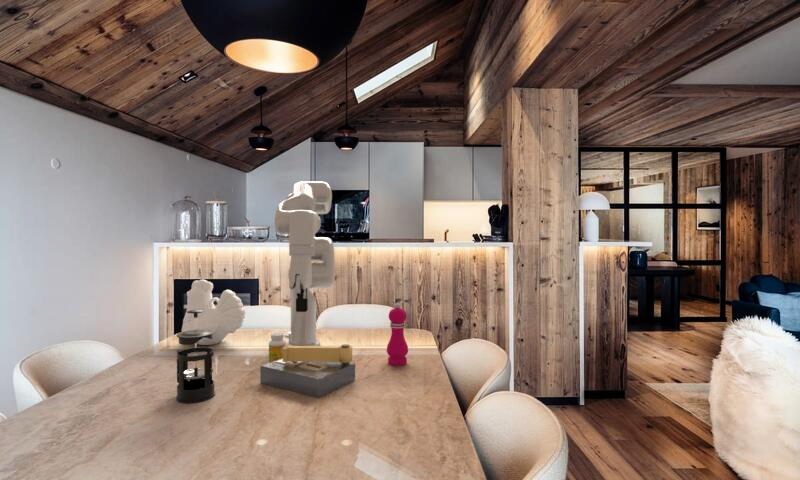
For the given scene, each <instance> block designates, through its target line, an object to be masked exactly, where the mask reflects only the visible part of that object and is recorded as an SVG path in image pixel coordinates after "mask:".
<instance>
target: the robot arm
mask: <svg viewBox="0 0 800 480" xmlns="http://www.w3.org/2000/svg"><path fill="white" fill-rule="evenodd" d="M332 200H333V192H332V188H331V185H330V184H329V183H328V182H326V181H309V180H307V181H306V180H305V181H304V180H303V181H302V180H301V181H299V182H296V183H295V184H294V185H293V187H292V189H291V193H290V194H288V195H287V197H286V199H285V200H283V201H281V202H280V203H279V204H278V206H277V207H276V210H275V214H274V228H275V231H276V232H277V233H278V234H281V235H288V242H289V243H288V250H289V251H288V255H289V256H290V263H289V268H288V271H287V272H288V274H287V275H288V287H289V290H290V291H289V292H290V293H289V294H290V331H288V332H287V333H286V334H284V338H285V339H288V341H287V342H286V345H290V346H321V341H320V340H319V339H317V300H316V297H315V294H314V293H313V292H312V291H311V290H310V289H321V288H331V287H333V285H334V284H335V281H336V268H335V267H336V266H335V265H336V264H335V263H336V262H335V247H334V246H335V245H334V242H333V240H332V239H331V238H330V237H325V236H318V237H317V236H316V235H315V234H316V233H318V232H319V230H320V229H321V226H322V225H321V224H322V223H321V220H322V219H321V217H320V215H327V214H328V213H329V212H330V211H331V208H332Z"/></svg>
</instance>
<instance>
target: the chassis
mask: <svg viewBox="0 0 800 480" xmlns="http://www.w3.org/2000/svg"><path fill="white" fill-rule="evenodd" d="M259 372H260V377H259V378H260V380H259V381H260V384H263V385H267V386H271V387H274V388H279V389H283V390H285V391H291V392H294V393H298V394H301V395H306V396H309V397H313V398H317V399H320V398H322V397H324V396H326V395H328V394H330V393H332V392H335V391H336V390H338V389H340V388H342V387H344V386H346V385H348V384H350V383H353V382H354V381H356V363H354V362H350V363H349V364H341V362H311V361H287V362H283V358H282V359H279V360H276V361H273V362H270V363H269V362H267V363H265V364H261V365H260V371H259Z"/></svg>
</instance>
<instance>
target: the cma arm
mask: <svg viewBox="0 0 800 480" xmlns="http://www.w3.org/2000/svg"><path fill="white" fill-rule="evenodd" d="M287 361H311V362H341V364H349V363H353V346H352V345H350V344H346V343H345V344H341V345H333V346H331V345H319V346H290V345H287V344H286V346H284V347H283V362H287Z"/></svg>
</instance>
